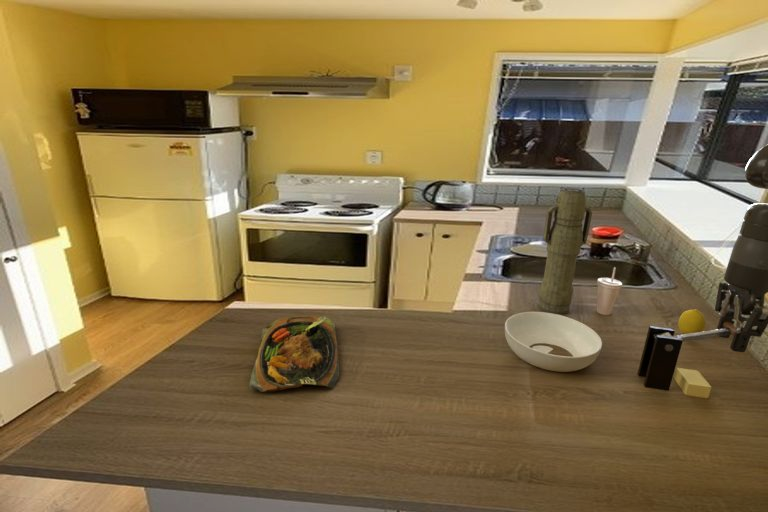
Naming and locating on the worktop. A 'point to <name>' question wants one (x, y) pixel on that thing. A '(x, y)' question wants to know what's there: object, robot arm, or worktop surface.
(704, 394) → the butter
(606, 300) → the smoothie
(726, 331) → the lever
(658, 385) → the slicer
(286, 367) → the prepared meal
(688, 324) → the lemon
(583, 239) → the thermos
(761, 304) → the robot arm
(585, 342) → the serving bowl
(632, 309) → the worktop surface
